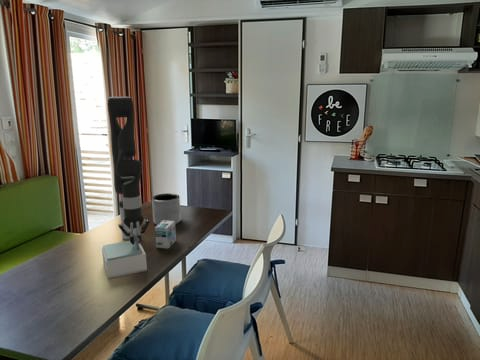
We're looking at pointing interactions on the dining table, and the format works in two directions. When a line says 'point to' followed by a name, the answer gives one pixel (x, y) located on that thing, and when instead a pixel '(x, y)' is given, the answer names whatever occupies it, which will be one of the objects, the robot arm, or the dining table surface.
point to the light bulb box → (165, 234)
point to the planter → (166, 208)
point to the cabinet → (125, 264)
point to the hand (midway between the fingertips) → (135, 243)
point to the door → (122, 248)
